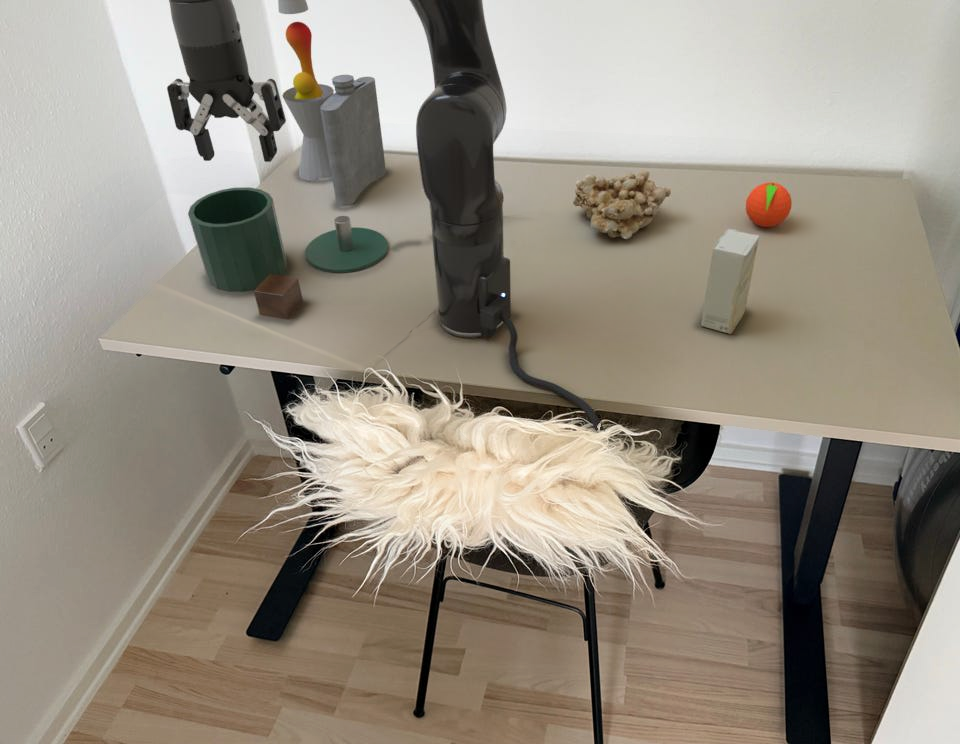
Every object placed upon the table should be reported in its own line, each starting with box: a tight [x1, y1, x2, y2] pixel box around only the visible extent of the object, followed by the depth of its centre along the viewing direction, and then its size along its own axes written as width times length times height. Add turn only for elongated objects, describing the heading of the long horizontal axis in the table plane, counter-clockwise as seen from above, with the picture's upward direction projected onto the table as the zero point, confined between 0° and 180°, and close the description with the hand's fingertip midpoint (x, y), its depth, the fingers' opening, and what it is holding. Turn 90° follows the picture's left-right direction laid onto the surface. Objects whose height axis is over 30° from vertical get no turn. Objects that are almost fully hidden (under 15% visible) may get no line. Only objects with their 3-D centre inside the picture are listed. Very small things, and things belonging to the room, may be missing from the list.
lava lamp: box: [277, 0, 335, 183], centre depth 139 cm, size 9×9×35 cm
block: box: [253, 274, 304, 320], centre depth 114 cm, size 5×5×5 cm
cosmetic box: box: [700, 228, 760, 335], centre depth 106 cm, size 6×4×12 cm
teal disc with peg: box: [304, 215, 389, 274], centre depth 125 cm, size 13×13×6 cm
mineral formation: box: [572, 169, 672, 240], centre depth 129 cm, size 8×13×15 cm
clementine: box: [745, 181, 793, 228], centre depth 126 cm, size 8×7×7 cm
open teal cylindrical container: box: [187, 187, 288, 293], centre depth 120 cm, size 12×12×12 cm
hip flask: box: [320, 74, 387, 207], centre depth 138 cm, size 16×4×20 cm, turn 159°
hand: (239, 159), depth 108 cm, fingers open, 8 cm apart
